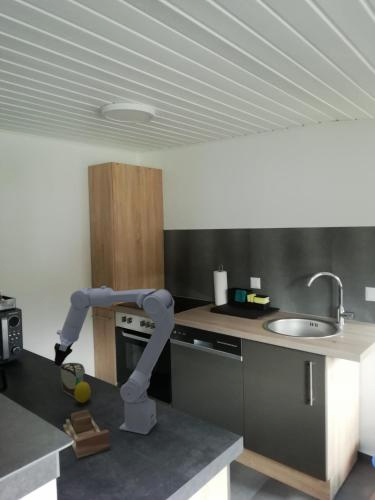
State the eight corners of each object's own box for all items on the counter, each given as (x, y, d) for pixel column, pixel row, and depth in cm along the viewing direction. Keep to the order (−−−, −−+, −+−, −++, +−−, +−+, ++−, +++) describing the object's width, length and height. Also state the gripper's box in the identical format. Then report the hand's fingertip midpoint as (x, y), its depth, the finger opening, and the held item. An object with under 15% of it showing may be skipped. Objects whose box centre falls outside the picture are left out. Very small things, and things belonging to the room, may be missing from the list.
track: (63, 427, 119) (62, 412, 119) (91, 419, 124) (91, 404, 123) (77, 458, 103) (77, 441, 103) (109, 448, 108) (109, 431, 107)
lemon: (84, 398, 139) (83, 376, 138) (94, 402, 135) (93, 380, 135) (71, 403, 134) (70, 382, 134) (81, 408, 131) (80, 386, 130)
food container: (92, 393, 142) (91, 367, 141) (77, 399, 138) (76, 372, 137) (75, 384, 151) (73, 359, 150) (60, 389, 146) (59, 364, 145)
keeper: (71, 426, 118) (71, 413, 118) (87, 421, 120) (87, 409, 120) (75, 433, 114) (74, 420, 113) (92, 428, 116) (91, 416, 116)
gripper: (67, 310, 129) (54, 344, 132) (55, 328, 115) (42, 366, 118) (87, 317, 130) (74, 351, 133) (78, 336, 116) (64, 373, 119)
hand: (60, 358), depth 125 cm, fingers open, 7 cm apart
